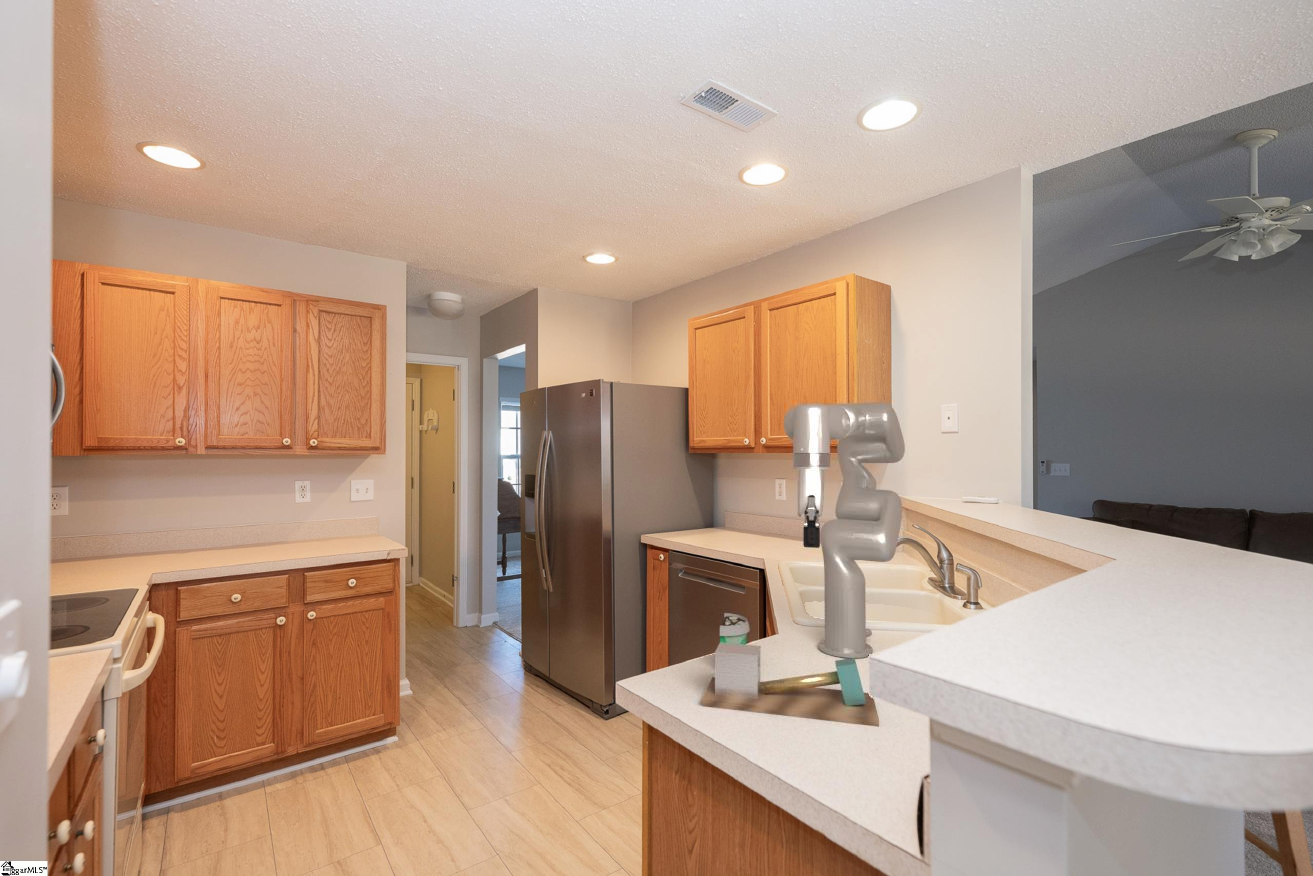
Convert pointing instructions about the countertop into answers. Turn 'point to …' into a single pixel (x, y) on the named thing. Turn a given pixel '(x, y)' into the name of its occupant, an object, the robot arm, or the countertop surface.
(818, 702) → the walnut board
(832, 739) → the countertop surface
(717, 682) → the block
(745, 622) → the food container
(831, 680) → the brass rod with block
